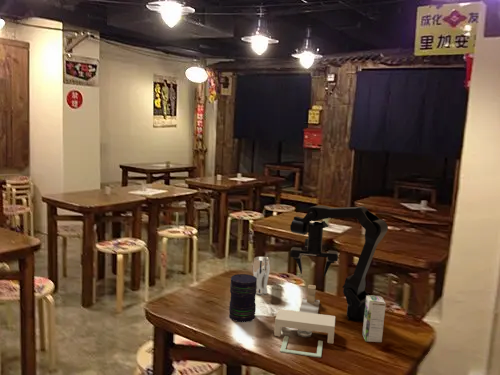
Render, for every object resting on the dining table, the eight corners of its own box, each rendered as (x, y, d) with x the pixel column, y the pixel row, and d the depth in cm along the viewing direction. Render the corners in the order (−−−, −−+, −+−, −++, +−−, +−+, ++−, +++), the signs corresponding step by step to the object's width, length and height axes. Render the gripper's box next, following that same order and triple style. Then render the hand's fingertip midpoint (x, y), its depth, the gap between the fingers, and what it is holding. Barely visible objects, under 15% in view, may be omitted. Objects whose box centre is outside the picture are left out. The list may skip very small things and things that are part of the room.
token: (312, 332, 168) (312, 328, 168) (311, 338, 163) (311, 334, 163) (298, 330, 169) (298, 326, 169) (296, 336, 164) (296, 332, 164)
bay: (322, 342, 160) (322, 341, 160) (321, 357, 150) (321, 356, 150) (284, 337, 163) (284, 335, 163) (279, 351, 152) (280, 350, 152)
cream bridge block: (334, 332, 169) (335, 316, 168) (333, 343, 160) (334, 326, 159) (278, 324, 172) (278, 309, 172) (274, 335, 164) (275, 319, 163)
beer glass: (256, 296, 199) (257, 261, 197) (249, 290, 206) (251, 256, 203) (271, 294, 202) (273, 260, 200) (264, 289, 208) (265, 255, 206)
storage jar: (260, 319, 176) (262, 280, 174) (237, 324, 171) (239, 284, 169) (246, 309, 185) (248, 272, 183) (224, 314, 179) (225, 276, 177)
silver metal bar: (302, 301, 197) (303, 284, 196) (319, 303, 195) (320, 286, 194) (296, 325, 173) (297, 305, 172) (315, 328, 172) (317, 308, 171)
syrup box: (361, 334, 168) (365, 294, 166) (378, 335, 168) (382, 295, 166) (365, 341, 162) (368, 301, 160) (382, 342, 162) (386, 302, 160)
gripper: (339, 234, 196) (336, 271, 198) (293, 230, 199) (291, 266, 201) (339, 240, 185) (336, 279, 187) (291, 236, 188) (288, 274, 191)
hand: (312, 274), depth 192 cm, fingers open, 9 cm apart
